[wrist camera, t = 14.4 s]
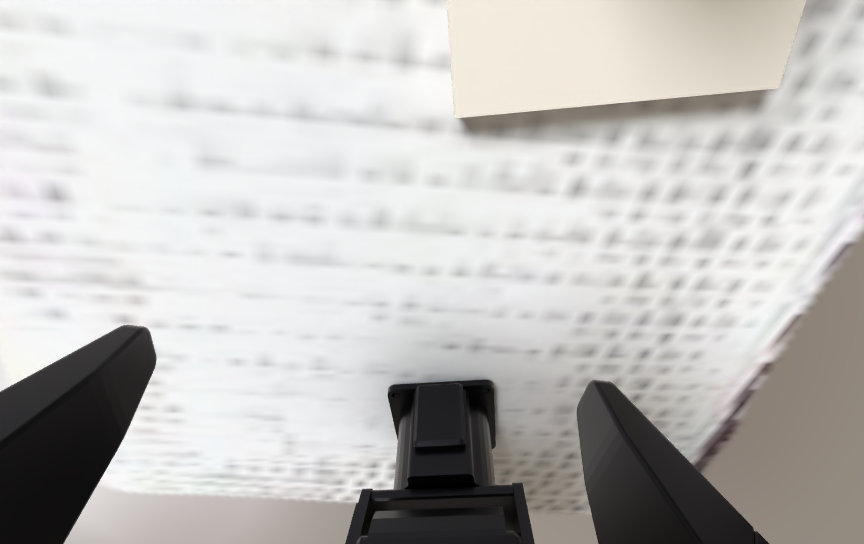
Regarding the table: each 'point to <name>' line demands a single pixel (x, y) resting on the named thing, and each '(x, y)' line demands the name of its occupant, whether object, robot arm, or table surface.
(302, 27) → the table surface
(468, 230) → the table surface
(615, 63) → the shelf board
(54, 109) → the table surface
